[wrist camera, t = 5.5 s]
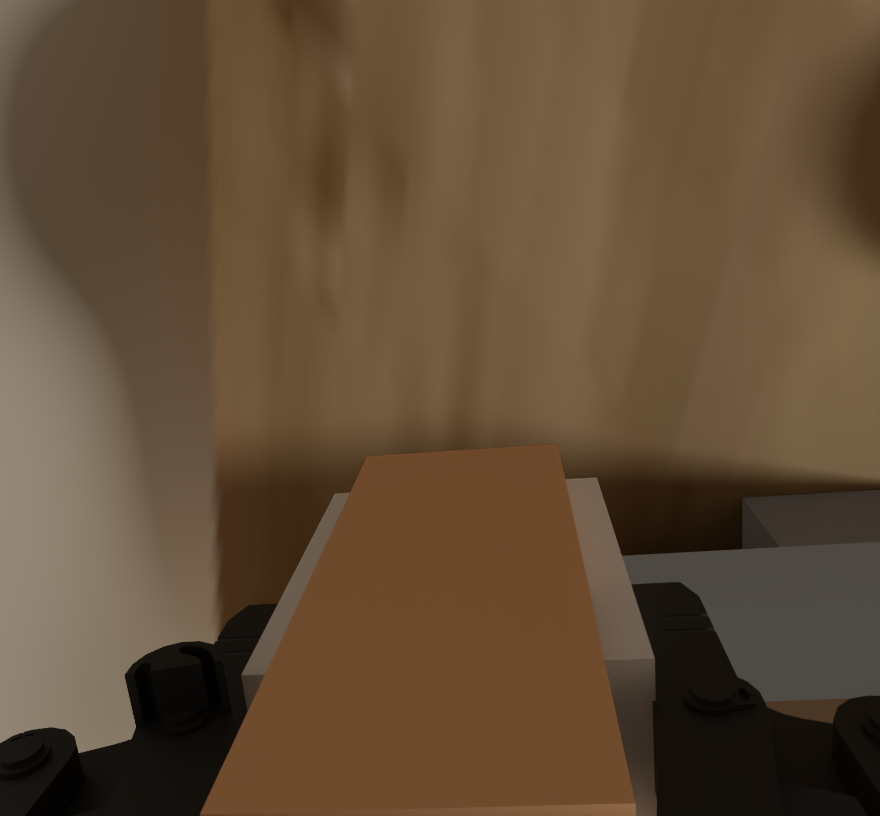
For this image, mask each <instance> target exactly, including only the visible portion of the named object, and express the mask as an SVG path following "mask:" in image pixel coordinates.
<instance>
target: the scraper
mask: <svg viewBox="0 0 880 816" xmlns="http://www.w3.org/2000/svg"><path fill="white" fill-rule="evenodd" d="M200 816H636V803H635V799H634V794H633V789H632V785H631V780H630V775H629V771H628V766H627V762H626V757H625V752H624V748H623V743H622V739H621V734H620V729H619V725H618V720H617V715H616V711H615V706H614V702H613V697H612V692H611V688H610V683H609V679H608V674H607V669H606V665H605V660H604V655H603V651H602V646H601V642H600V637H599V632H598V628H597V623H596V619H595V614H594V609H593V605H592V600H591V595H590V591H589V586H588V582H587V577H586V572H585V568H584V563H583V559H582V554H581V549H580V545H579V540H578V535H577V531H576V526H575V522H574V517H573V512H572V508H571V503H570V499H569V494H568V489H567V485H566V480H565V475H564V471H563V466H562V462H561V457H560V452H559V448H558V444H545V445H530V446H515V447H500V448H485V449H469V450H454V451H439V452H424V453H409V454H394V455H379V456H367V457H366V460H365V462H364V464H363V466H362V468H361V470H360V472H359V475H358V477H357V479H356V481H355V483H354V485H353V487H352V490H351V492H350V494H349V496H348V498H347V500H346V502H345V504H344V507H343V509H342V511H341V513H340V515H339V517H338V519H337V522H336V524H335V526H334V528H333V530H332V532H331V534H330V537H329V539H328V541H327V543H326V545H325V547H324V549H323V552H322V554H321V556H320V558H319V560H318V562H317V564H316V567H315V569H314V571H313V573H312V575H311V577H310V579H309V582H308V584H307V586H306V588H305V590H304V592H303V594H302V597H301V599H300V601H299V603H298V605H297V607H296V609H295V612H294V614H293V616H292V618H291V620H290V622H289V624H288V627H287V629H286V631H285V633H284V635H283V637H282V639H281V642H280V644H279V646H278V648H277V650H276V652H275V654H274V657H273V659H272V661H271V663H270V665H269V667H268V669H267V672H266V674H265V676H264V678H263V680H262V682H261V684H260V686H259V689H258V691H257V693H256V695H255V697H254V699H253V701H252V704H251V706H250V708H249V710H248V712H247V714H246V716H245V719H244V721H243V723H242V725H241V727H240V729H239V731H238V734H237V736H236V738H235V740H234V742H233V744H232V746H231V749H230V751H229V753H228V755H227V757H226V759H225V761H224V764H223V766H222V768H221V770H220V772H219V774H218V776H217V779H216V781H215V783H214V785H213V787H212V789H211V791H210V794H209V796H208V798H207V800H206V802H205V804H204V806H203V809H202V811H201V813H200Z"/></svg>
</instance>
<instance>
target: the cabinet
mask: <svg viewBox="0 0 880 816" xmlns="http://www.w3.org/2000/svg"><path fill="white" fill-rule="evenodd" d="M622 558H623V561H624V564H625V567H626V570H627V573H628V576H629V580H630V583H631V584H645V583H665V582H681V583H682V584H683V585H685V586H686V587H688V588H689V589H690V590H692V591H693V592H694V593H696V594H697V595H698V596H699V597H700V599H701V601H702V603H703V605H704V607H705V609H706V612H707V615H708V617H709V618H710V620H711V622H712V624H713V626H714V631H716V633H717V635H718V637H719V639H720V641H721V643H722V645H723V647H724V650H725V652H726V654H727V656H728V658H729V660H730V662H731V664H732V666H733V669H734V671H735V673H736V675H737V677H739V678H741V679H743V680H746V681H747V682H749V683H750V684H751V685H752V686H754V687H755V688H756V689H757V690H758V691H760V693H761V695H762V697H763V699H764V701H765V703H766V707H768V708H770V709H773V710H775V711H778V712H780V713H783V714H786V715H790V716H794V717H798V718H803V719H809V720H815V721H821V722H826V723H832V724H833V718H834V715H835V713H836V710H837V707H838V706H840V705H841V704H843V703H844V702H846V701H847V700H849V699H851V698H857V697H862V696H867V695H873V696H880V490H864V491H847V492H830V493H814V494H797V495H780V496H763V497H747V498H742V549H738V550H720V551H701V552H683V553H664V554H646V555H628V556H622Z"/></svg>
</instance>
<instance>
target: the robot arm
mask: <svg viewBox="0 0 880 816" xmlns="http://www.w3.org/2000/svg"><path fill="white" fill-rule="evenodd" d="M565 480H566V485H567V489H568V494H569V499H570V503H571V508H572V512H573V517H574V522H575V526H576V531H577V535H578V540H579V545H580V549H581V554H582V559H583V563H584V568H585V572H586V577H587V582H588V586H589V591H590V595H591V600H592V605H593V609H594V614H595V619H596V623H597V628H598V632H599V637H600V642H601V646H602V651H603V655H604V660H605V665H606V669H607V674H608V679H609V683H610V688H611V692H612V697H613V702H614V706H615V711H616V715H617V720H618V725H619V729H620V734H621V739H622V743H623V748H624V752H625V757H626V762H627V766H628V771H629V775H630V780H631V785H632V789H633V794H634V799H635V803H636V816H880V696H873V695H867V696H862V697H857V698H851V699H849V700H847V701H846V702H844V703H843V704H841V705H840V706H838V707H837V710H836V713H835V715H834V718H833V724H832V723H826V722H821V721H815V720H809V719H803V718H798V717H794V716H790V715H786V714H783V713H780V712H778V711H775V710H773V709H770V708H768V707H766V703H765V701H764V699H763V697H762V695H761V693H760V691H758V690H757V689H756V688H755V687H754V686H752V685H751V684H750V683H749V682H747V681H746V680H743V679H741V678H739V677H737V675H736V673H735V671H734V669H733V666H732V664H731V662H730V660H729V658H728V656H727V654H726V652H725V650H724V647H723V645H722V643H721V641H720V639H719V637H718V635H717V633H716V631H714V626H713V624H712V622H711V620H710V618H709V617H708V615H707V612H706V609H705V607H704V605H703V603H702V601H701V599H700V597H699V596H698V595H697V594H696V593H694V592H693V591H692V590H690V589H689V588H688V587H686V586H685V585H683V584H682V583H681V582H665V583H645V584H631V583H630V580H629V576H628V573H627V570H626V567H625V564H624V561H623V558H622V555H621V552H620V548H619V545H618V542H617V539H616V536H615V533H614V530H613V527H612V523H611V520H610V517H609V514H608V511H607V508H606V505H605V502H604V498H603V495H602V492H601V489H600V486H599V483H598V480H597V477H594V478H577V479H565ZM349 494H350V493H335V494H334V496H333V498H332V500H331V502H330V504H329V506H328V508H327V510H326V512H325V514H324V516H323V517H322V519H321V521H320V523H319V525H318V527H317V529H316V531H315V533H314V535H313V537H312V539H311V541H310V543H309V545H308V547H307V548H306V550H305V552H304V554H303V556H302V558H301V560H300V562H299V564H298V566H297V568H296V570H295V572H294V574H293V576H292V578H291V580H290V581H289V583H288V585H287V587H286V589H285V591H284V593H283V595H282V597H281V599H280V601H279V603H278V604H263V605H248V606H247V607H246V608H244V609H243V610H242V611H240V612H239V613H238V614H236V615H235V616H234V617H233V618H231V619H230V620H229V621H228V622H227V624H226V625H225V627H224V629H223V630H222V632H221V634H220V635H219V637H218V641H216V642H215V643H214V645H213V644H209V643H204V642H200V641H197V642H181V643H177V644H173V645H169V646H165V647H162V648H160V649H157V650H155V651H153V652H151V653H148V654H146V655H145V656H143V657H142V658H141V659H139V660H138V661H137V662H135V663H134V664H133V665H132V666H131V667H130V669H129V670H128V671H127V673H126V674H125V679H126V683H127V688H128V692H129V697H130V702H131V706H132V710H133V715H134V719H135V724H136V729H135V732H134V734H133V737H132V739H131V740H127V741H125V742H121V743H118V744H114V745H110V746H106V747H103V748H99V749H94V750H90V751H86V752H82V753H78V749H77V745H76V741H75V737H74V736H73V735H72V734H71V733H69V732H68V731H67V730H65V729H58V728H43V729H36V730H30V731H26V732H24V733H20V734H17V735H14V736H12V737H10V738H9V739H7V740H6V741H4V742H2V743H0V816H200V813H201V811H202V809H203V806H204V804H205V802H206V800H207V798H208V796H209V794H210V791H211V789H212V787H213V785H214V783H215V781H216V779H217V776H218V774H219V772H220V770H221V768H222V766H223V764H224V761H225V759H226V757H227V755H228V753H229V751H230V749H231V746H232V744H233V742H234V740H235V738H236V736H237V734H238V731H239V729H240V727H241V725H242V723H243V721H244V719H245V716H246V714H247V712H248V710H249V708H250V706H251V704H252V701H253V699H254V697H255V695H256V693H257V691H258V689H259V686H260V684H261V682H262V680H263V678H264V676H265V674H266V672H267V669H268V667H269V665H270V663H271V661H272V659H273V657H274V654H275V652H276V650H277V648H278V646H279V644H280V642H281V639H282V637H283V635H284V633H285V631H286V629H287V627H288V624H289V622H290V620H291V618H292V616H293V614H294V612H295V609H296V607H297V605H298V603H299V601H300V599H301V597H302V594H303V592H304V590H305V588H306V586H307V584H308V582H309V579H310V577H311V575H312V573H313V571H314V569H315V567H316V564H317V562H318V560H319V558H320V556H321V554H322V552H323V549H324V547H325V545H326V543H327V541H328V539H329V537H330V534H331V532H332V530H333V528H334V526H335V524H336V522H337V519H338V517H339V515H340V513H341V511H342V509H343V507H344V504H345V502H346V500H347V498H348V496H349Z"/></svg>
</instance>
